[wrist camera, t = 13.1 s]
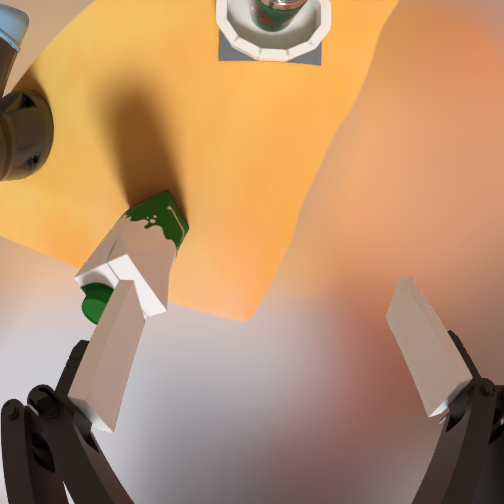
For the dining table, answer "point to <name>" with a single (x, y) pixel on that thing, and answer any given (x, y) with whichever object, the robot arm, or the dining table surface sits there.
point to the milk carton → (135, 257)
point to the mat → (234, 55)
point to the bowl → (273, 43)
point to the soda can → (275, 13)
